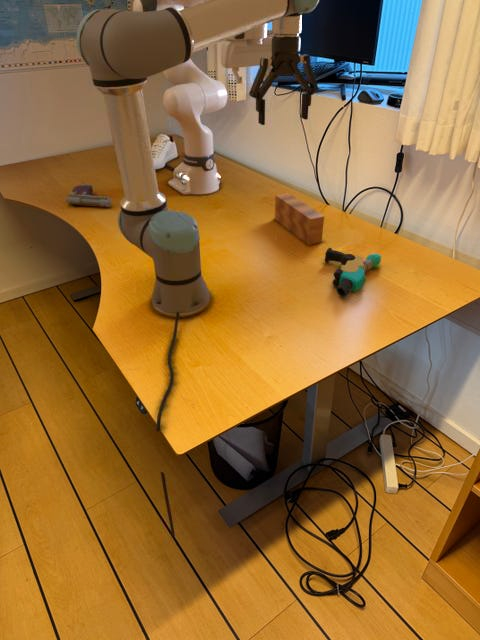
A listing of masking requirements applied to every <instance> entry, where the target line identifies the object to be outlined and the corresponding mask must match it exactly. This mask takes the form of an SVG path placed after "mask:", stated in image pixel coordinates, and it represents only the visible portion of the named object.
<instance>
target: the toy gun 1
mask: <svg viewBox="0 0 480 640" xmlns="http://www.w3.org/2000/svg"><path fill="white" fill-rule="evenodd" d="M93 192H94V188H93V185H92V184H77V185H76V186H74V187H73V188H72V190H71V193H69V194H68V195H67V199H66V200H65V202H67V204H68V205H74V206H75V205H77V206H88V207H90V206H91V207H102V208H110V207H111V206H110V205H111V203H112V199H111V198H110V197H107V196H104V195H103V196H102V195H98V196H97V195H93Z"/></svg>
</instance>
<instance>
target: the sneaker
mask: <svg viewBox="0 0 480 640" xmlns="http://www.w3.org/2000/svg"><path fill="white" fill-rule="evenodd" d="M151 148H152V154H153V160H154V166H155V171H156V170H160V169H162V168H164V167H166V166H165V163H166V164H167V163H168V162H170V161H172V160H175V159H176V158H177V157H178V156H179V155H178V149H177V144H176V140H175V136H174V135H173V134H164V133H161V134H158V135H157V137H156V139H155V140H154V142H153V143H152V145H151Z"/></svg>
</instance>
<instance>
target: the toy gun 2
mask: <svg viewBox="0 0 480 640" xmlns="http://www.w3.org/2000/svg"><path fill="white" fill-rule="evenodd" d="M330 261H332V262H337V263H340V267H339V268H337V269H336V270H335V272H334V273H333V277H334V279H333V280H332V285H333V286H334V287H336V292H337V294H338V295H339V297H341V298H344V299H345V298H346V297H347V295H348V294H350V293H351V291H353V292H357V291H359V290H360V289H361V288H362V287H363V286H364V284H365V282H366V274H365V273H366V272H367V271H369V270H370V269H372V268H377V266H379V265H380V263H381V261H382V255H381V254H379V253H370V254H368V256H366V259H364V257H363V256H361V255H359V254H353V253H352V254H351V253H344V252H342V251H338V250H335V249H333V248H332V247H328V248H327V249H326V251H325V255H324V262H325V263H329V262H330Z"/></svg>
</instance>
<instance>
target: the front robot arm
mask: <svg viewBox="0 0 480 640" xmlns="http://www.w3.org/2000/svg"><path fill="white" fill-rule="evenodd" d="M319 2H320V0H208V1H205V2H202V3H199V4H197V5H194V6H191V7H188V8H185V9H182V10H179V11H178V10H177V9H175V8H173V7H169V8H166V9H163V10H159V11H151V12H137V11H132V10H124V9H123V10H122V9H114V8H107V7H106V8H105V7H103V8H99V9H95V10H91V11H89V12H88V13H87V14H85V16H83V18H82V19H81V20H80V23H79V25H78V27H77V30H76V47H77V51H78V53H79V55H80V57H81V59H82V60H83V62H84V63H85V64H86V65H87V66H88V67H89V70H90V71H89V72H90V75H91V79H92V83H93V88H95V89H97V90H98V91H99V92H100V93H102V96H103V101H104V105H105V109H106V115H107V120H108V124H109V129H110V134H111V139H112V142H113V148H114V153H115V157H116V162H117V167H118V171H119V177H120V181H121V185H122V190H123V197H122V198H121V199H120V201H119V206H120V211H119V212H118V215H117V226H118V228H119V231H120V233H121V234H122V235H123V237H124V239H126V240H127V241H128V242H129V243H130V244H131V245H133V246H135V247H136V248H138V249H139V250H140V251H142V252H143V253H145V254H146V255H147V256H148V257H150V258H151V259H152V260H153V261H152V262H153V268H154V274H155V275H154V276H155V281H154V284H153V290H152V294H151V305H152V308H153V310H154V311H155V312H156V313H157V314H159V315H160V316H163V317H167V318H171V319H175V321H174V326H173V327H174V328H173V334H172V335H173V336H172V340H171V343H170V346H169V350H168V353H167V365H168V369H169V377H170V379H169V384H168V387H167V389H166V391H165V393H164V395H163V397H162V400H161V403H160V405H159V410H158V413H157V417H156V426H155V427H156V429H155V430H156V432H157V433H158V432H160V431H161V421H162V415H163V411H164V408H165V404H166V401H167V399H168V397H169V395H170V393H171V390H172V388H173V385H174V380H175V375H174V369H173V365H172V355H173V354H172V353H173V349H174V346H175V343H176V340H177V333H178V325H179V319H183V318H185V319H186V318H190V317H194V316H196V315H199V314H201V313H202V312H204V311H205V310H207V308H208V307H209V306H210V303H211V294H210V290H209V288H208V286H207V284H206V281H205V278H204V277H203V275H202V262H201V261H202V259H201V247H200V246H201V243H200V240H201V236H200V231H199V226H198V223H197V220H196V218H194V217H193V216H192V215H190V214H188V213H187V212H184V211H177V210H174V209H173V210H171V209H170V210H168V202H167V198H166V195H165V194H164V193H162V192H161V191H159V185H158V179H157V172H156V170H155V166H154V160H153V154H152V143H151V142H152V141H151V137H150V130H149V125H148V119H147V112H146V106H145V99H144V94H143V88H144V87H145V85H146V83H147V82H148V78H150V77H152V76H155V75H157V74H160V73H163V71H165V70H168V69H170V68H172V67H175V66H177V65H179V64H182V63H185V62H187V61H188V60H189V59H191V58H192V55H193V53H196V52H199V51H202V50H204V49H207V48H209V47H211V46H214V45H216V44H219V43H222V42H223V41H224V40H227V39H229V38H232V37H234V36H237V35H239V34H242V33H244V32H247V31H249V30H252V29H254V28H257V27H259V26H262V25H264V24H267V25H268V24H269V23H271V30H272V33H273V34H274V36H273V38H272V56H271V59H266V58H263V57H262V58H261V59H260V66H258V70H257V73H256V75H255V77H254V80H253V82H252V85H251V87H250V90H249V92H248V96H249V97H251V98H254V99H255V111H256V112H257V113H258V122H257V123H258V124H259V125H261V126H265V125H266V99H265V98H264V97H265V96H266V94H267V92H268V91H269V90H270V88H271V86H272V85H273V84H274V81H275V80H276V79H277V78H278V77H279V76H281V77H283V76H284V77H285V76H292V75H293V77H294V78H295V80H296V81H297V83H298V84H299V85H300V87H301V89H302V90H303V91H304V93H301V95H302V96H301V107H300V108H301V109H300V118H301V119H303V120H306V121H307V120H308V118H309V107H311V106H312V96H313V95H314V94H315V92H319V86H318V82H317V80H316V76H315V74H314V71H313V69H312V68H313V67H312V64H311V55H310V54H306V53H303V54H302V55H300V52H301V36H300V34H301V33H302V17H303V14H308V13H311V12H313V11H314V10H315V9H316V8H317V6H318V4H319ZM270 64H271V65H272V69H271V70H270V72H269V75H268V76H267V78H266V79H265V81H263V79H264V76H265V74H266V71H267V68H268V67H269V65H270ZM299 64H301V65H302V68H303V71H304V74H305V77H306V79H305V77H304V75H303V73H302V71H301V70H300V69H299ZM160 476H161V484H162V489H163V494H164V495H163V496H164V501H165V507H166V511H167V516H168V522H169V527H170V534H171V537H175V535H176V533H175V528H174V521H173V517H172V511H171V504H170V501H169V495H168V488H167V482H166V474H165V473H164V472H163V471H160Z"/></svg>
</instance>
